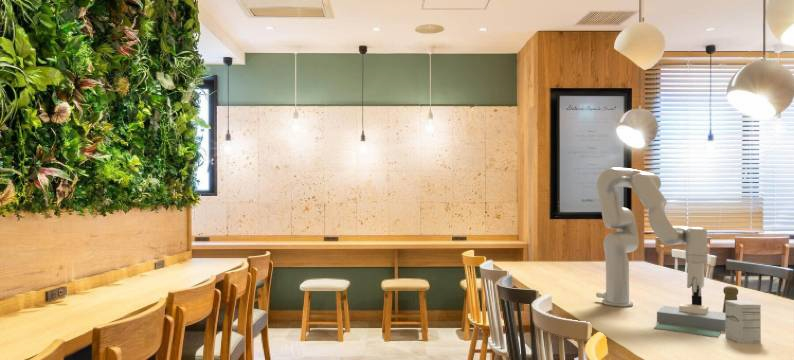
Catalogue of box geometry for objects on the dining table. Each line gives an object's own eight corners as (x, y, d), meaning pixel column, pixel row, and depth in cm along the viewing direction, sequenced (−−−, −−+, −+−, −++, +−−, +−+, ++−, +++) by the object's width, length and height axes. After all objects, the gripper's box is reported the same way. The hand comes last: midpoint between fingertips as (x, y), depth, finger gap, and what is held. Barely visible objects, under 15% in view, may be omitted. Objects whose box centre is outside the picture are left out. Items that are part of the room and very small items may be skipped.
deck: (656, 322, 204) (656, 311, 204) (664, 315, 216) (664, 305, 216) (724, 331, 191) (724, 320, 191) (728, 324, 203) (728, 313, 203)
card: (679, 311, 206) (679, 305, 206) (681, 308, 211) (681, 303, 211) (706, 314, 201) (706, 308, 201) (708, 311, 205) (708, 306, 205)
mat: (653, 328, 195) (653, 327, 195) (659, 323, 203) (659, 322, 203) (718, 337, 183) (718, 336, 183) (721, 331, 191) (721, 330, 191)
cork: (742, 315, 217) (742, 288, 217) (725, 315, 218) (725, 287, 218) (736, 312, 222) (735, 285, 223) (720, 312, 224) (719, 285, 224)
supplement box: (724, 337, 183) (724, 300, 183) (745, 337, 184) (744, 299, 184) (740, 343, 176) (739, 304, 176) (761, 343, 176) (761, 304, 177)
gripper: (688, 256, 221) (688, 302, 220) (682, 260, 209) (682, 308, 208) (709, 258, 216) (710, 304, 216) (704, 261, 204) (705, 310, 204)
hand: (696, 306), depth 212 cm, fingers closed
